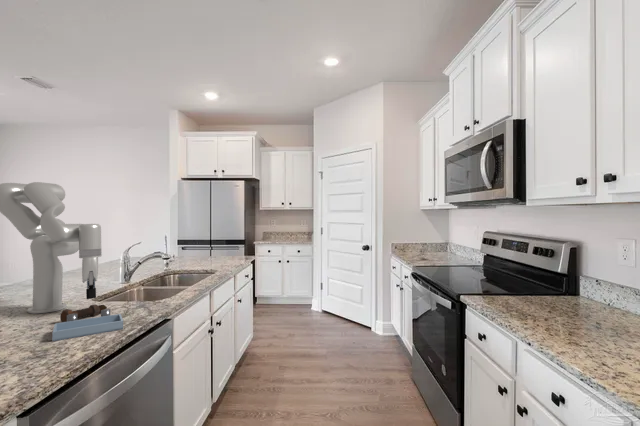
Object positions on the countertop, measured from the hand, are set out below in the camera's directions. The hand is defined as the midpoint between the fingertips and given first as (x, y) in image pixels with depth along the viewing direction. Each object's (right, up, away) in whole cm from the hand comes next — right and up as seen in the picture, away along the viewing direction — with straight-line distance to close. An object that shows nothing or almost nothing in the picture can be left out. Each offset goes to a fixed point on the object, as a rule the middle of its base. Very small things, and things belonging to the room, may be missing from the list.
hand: (91, 298), depth 131 cm
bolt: (+2, -7, -6) cm, 9 cm away
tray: (+14, -6, -20) cm, 25 cm away
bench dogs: (+9, -6, -14) cm, 18 cm away
